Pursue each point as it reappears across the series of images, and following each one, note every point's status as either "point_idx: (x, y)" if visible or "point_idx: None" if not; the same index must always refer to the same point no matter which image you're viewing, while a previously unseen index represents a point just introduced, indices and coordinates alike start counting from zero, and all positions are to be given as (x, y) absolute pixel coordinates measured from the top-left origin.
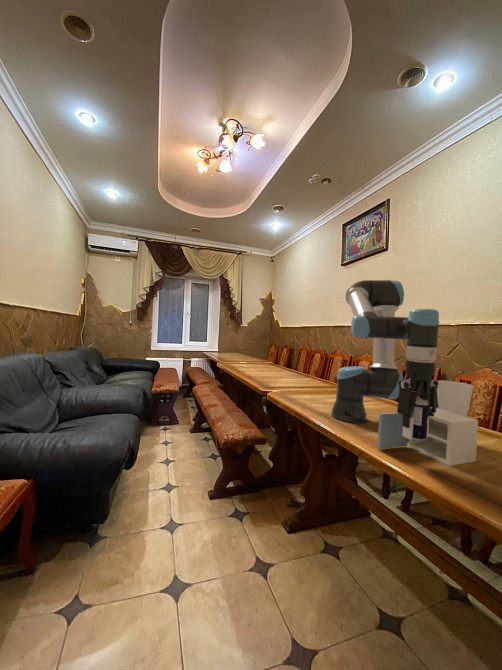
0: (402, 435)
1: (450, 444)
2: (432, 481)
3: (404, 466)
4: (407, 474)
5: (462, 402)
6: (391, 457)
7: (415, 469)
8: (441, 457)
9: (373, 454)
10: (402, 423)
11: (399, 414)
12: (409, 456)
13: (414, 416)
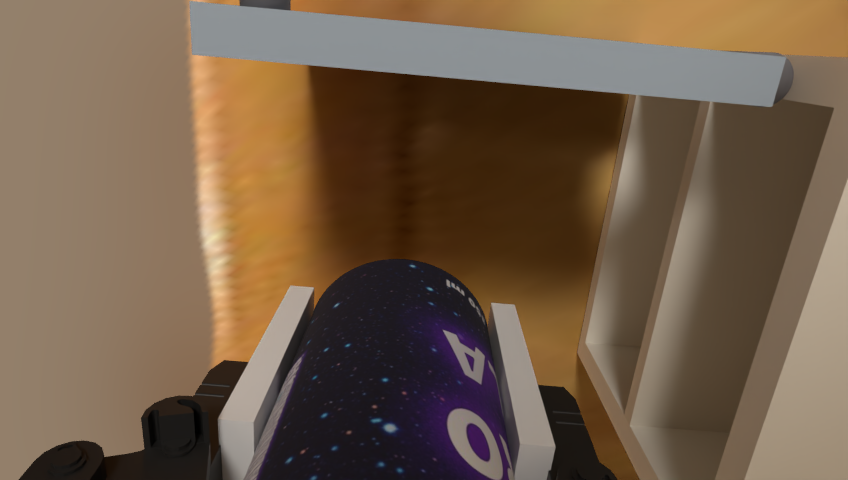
0: (288, 289)
1: (622, 440)
2: None
3: (284, 271)
4: (218, 334)
5: None
6: (305, 159)
7: None
8: (624, 302)
9: (203, 79)
10: (206, 378)
11: (563, 86)
12: (455, 190)
13: None
